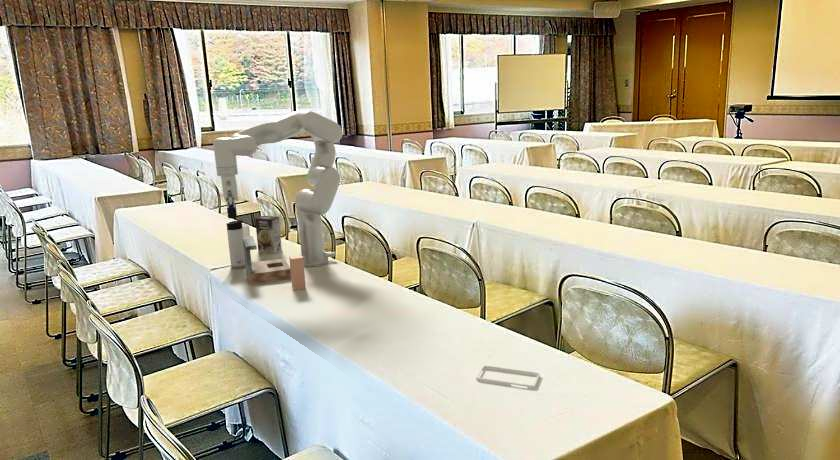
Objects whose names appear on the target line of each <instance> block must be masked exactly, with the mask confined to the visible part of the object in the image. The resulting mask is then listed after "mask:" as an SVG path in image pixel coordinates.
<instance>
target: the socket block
mask: <svg viewBox="0 0 840 460" xmlns="http://www.w3.org/2000/svg"><path fill="white" fill-rule="evenodd" d="M242 238H243V248H244V257H245V267H244V268H245V273H246V277H247V280H248V285H255V284H260V283H261V284H262V283H269V282H277V281H283V280H291V271H290V264H289V263H288V262H287V259H286V258H280V259H279V258H277V259H270V260H262V261H260V260H259V261H254V262H252V258H251V257H252V256H251V255H252V254H251V251H255V250H258V245H257V244H256V242H255V239H254V236H253V235H250V236H249V237H242Z"/></svg>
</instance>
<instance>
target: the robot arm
mask: <svg viewBox="0 0 840 460" xmlns="http://www.w3.org/2000/svg"><path fill="white" fill-rule="evenodd" d="M301 133H308V134H309V135H310V137H311V140H312V141H313V144H314V146H315V147H314V148H315V152H314V155H313V158H312V160H311V164H310V166H309V169H308V171H307V174H306V181H307V183H308V185H309V186H310V187H314V188H315V189H311V188H310V189H309V188H303V189H301V190H299V191H298V192H297V193H296V195H295V198H294V205H295V208H296V214H297V218H298V227H299V228H298V229H299V230H298V231H299V241H300V242H299V243H300V253H301V254H300V255H302V256H303V260H304V267H310V268H311V267H318V266H323V265H325V264H328V263H329V257H330V258H332V257H336V251H325V247H324V235H323V233H324V231H323V219H322V216H323V215H325V214H327V213H328V212H329V211H330V209H331V207H332V205H333V202H334V200H335V197H336V195H337V192H338V189H339V186H340V183H341V181H340V180H341V177H340V173H339V171H338V170H337V169H336V168H335V167H333V165H334V162H335V159H336V147H335V144H336V143H338V142H339V141H340V140H341V139H342V137H343V128H342V127H341V125H340V124H339V123H338V122H336V121H333V120H331V119H329V118H328V117H325V116H323V115H322V114H319V113H317V112H315V111H311V110H303V109H302V110H296V111H293V112H291V113H288V114H286V115H282V116H281V117H278V118H276V119H273V120H271V121H268V122H264V123H261V124H257V125H254V126H251V127H249V128H246V129H243V130H241V131H238V132H236V133H233V134H232V135H231V136H230V137H229V136H228V137H224V136H223V137H218V138H214V139H213V144H212V145H213V154H214V159H215V160H214V161H215V169H216V176H218V177H220V180H221V188H222V193H223V198H224V201H225V203H226V211H227V218H228V219H236V218H238V214H237V207H236V205H237V204H236V202H238V201H239V193H238V185H237V184H238V183H237V178H236V177H237V176H236V175H238V174H239V171H238V162H237V156H242V157H244V156H246V157H247V156H251V155H254V154H255V153H256V152H257V150H258V148H259V147H258V146H261V145H266V144H268V145H269V144H275V143H281V142H282V141H284V140H286V139H289V138H291V137H293V136H295V135H298V134H301ZM235 201H236V202H235Z"/></svg>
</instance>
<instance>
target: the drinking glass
mask: <svg viewBox="0 0 840 460" xmlns="http://www.w3.org/2000/svg"><path fill="white" fill-rule="evenodd" d="M242 228H243V237H249V236H251V232H250V231H251V230H250V225H249V224H247V223H242Z"/></svg>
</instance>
